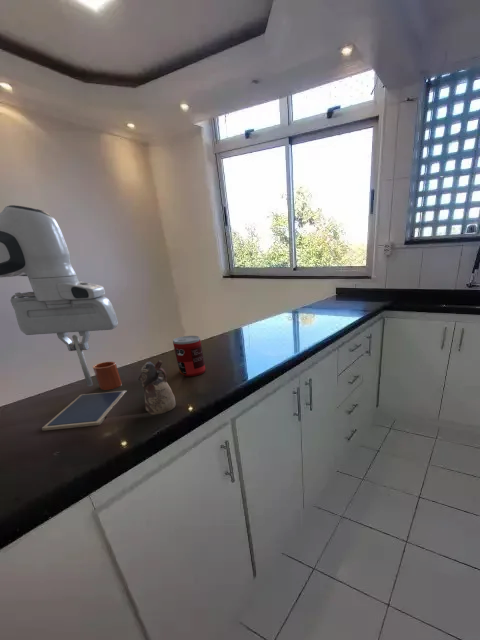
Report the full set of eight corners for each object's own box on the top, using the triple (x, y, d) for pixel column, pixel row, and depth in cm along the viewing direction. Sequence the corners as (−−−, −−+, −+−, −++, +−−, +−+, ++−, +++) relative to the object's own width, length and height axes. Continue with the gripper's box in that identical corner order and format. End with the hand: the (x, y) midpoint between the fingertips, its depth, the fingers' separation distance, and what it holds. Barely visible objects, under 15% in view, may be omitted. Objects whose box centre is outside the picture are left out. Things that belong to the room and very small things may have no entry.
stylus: (86, 387, 79) (70, 335, 74) (89, 386, 80) (73, 334, 75) (92, 387, 79) (75, 334, 74) (94, 385, 80) (78, 334, 75)
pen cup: (97, 392, 87) (88, 369, 84) (105, 384, 92) (98, 362, 89) (118, 390, 88) (110, 367, 85) (125, 382, 93) (118, 360, 90)
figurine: (146, 404, 79) (134, 359, 74) (176, 399, 81) (165, 355, 76) (144, 417, 73) (130, 369, 68) (176, 411, 75) (165, 364, 70)
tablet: (42, 430, 69) (41, 427, 69) (81, 396, 85) (80, 394, 85) (100, 425, 70) (98, 421, 70) (127, 392, 86) (126, 389, 86)
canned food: (180, 370, 101) (173, 337, 96) (205, 367, 103) (199, 334, 98) (179, 378, 95) (171, 343, 90) (206, 374, 97) (200, 340, 92)
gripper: (-3, 294, 66) (24, 357, 72) (99, 289, 68) (118, 350, 74) (17, 291, 71) (41, 349, 77) (111, 286, 74) (127, 343, 80)
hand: (79, 349), depth 76 cm, fingers closed on stylus, 1 cm apart
